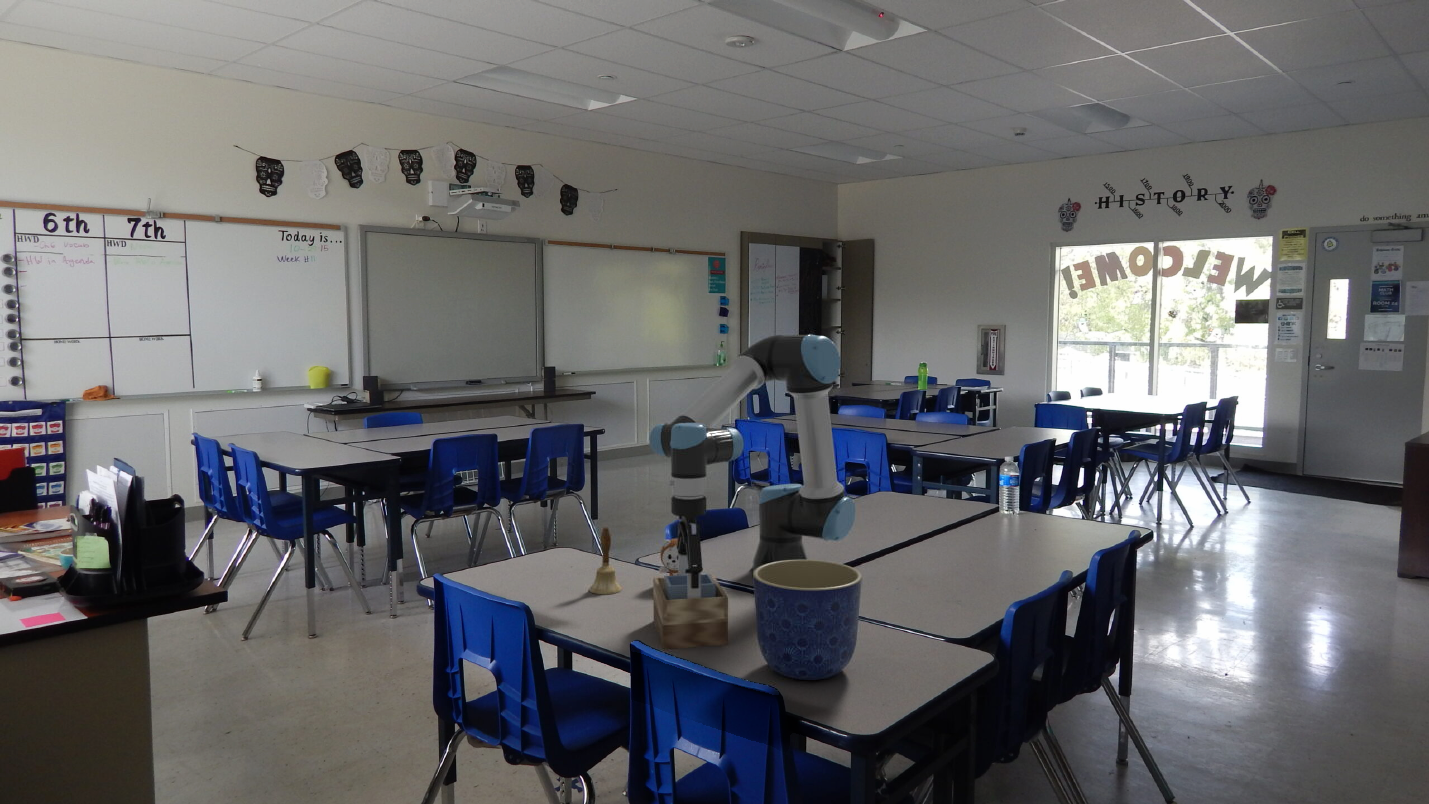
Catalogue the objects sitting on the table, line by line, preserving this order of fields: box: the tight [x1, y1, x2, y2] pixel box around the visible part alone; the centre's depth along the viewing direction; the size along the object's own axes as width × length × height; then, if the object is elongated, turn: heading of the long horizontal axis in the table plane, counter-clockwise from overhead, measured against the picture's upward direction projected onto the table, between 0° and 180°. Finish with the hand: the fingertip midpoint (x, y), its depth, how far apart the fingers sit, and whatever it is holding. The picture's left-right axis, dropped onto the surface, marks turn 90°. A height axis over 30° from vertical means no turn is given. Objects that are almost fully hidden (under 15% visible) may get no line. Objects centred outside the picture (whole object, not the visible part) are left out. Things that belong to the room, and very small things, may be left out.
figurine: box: [658, 537, 680, 576], centre depth 227 cm, size 9×9×12 cm
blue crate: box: [663, 573, 716, 600], centre depth 192 cm, size 10×8×6 cm
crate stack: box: [652, 574, 729, 650], centre depth 192 cm, size 14×18×10 cm
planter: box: [752, 559, 863, 681], centre depth 171 cm, size 21×21×19 cm
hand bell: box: [588, 526, 623, 595], centre depth 223 cm, size 8×8×16 cm
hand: (689, 593), depth 192 cm, fingers open, 13 cm apart
